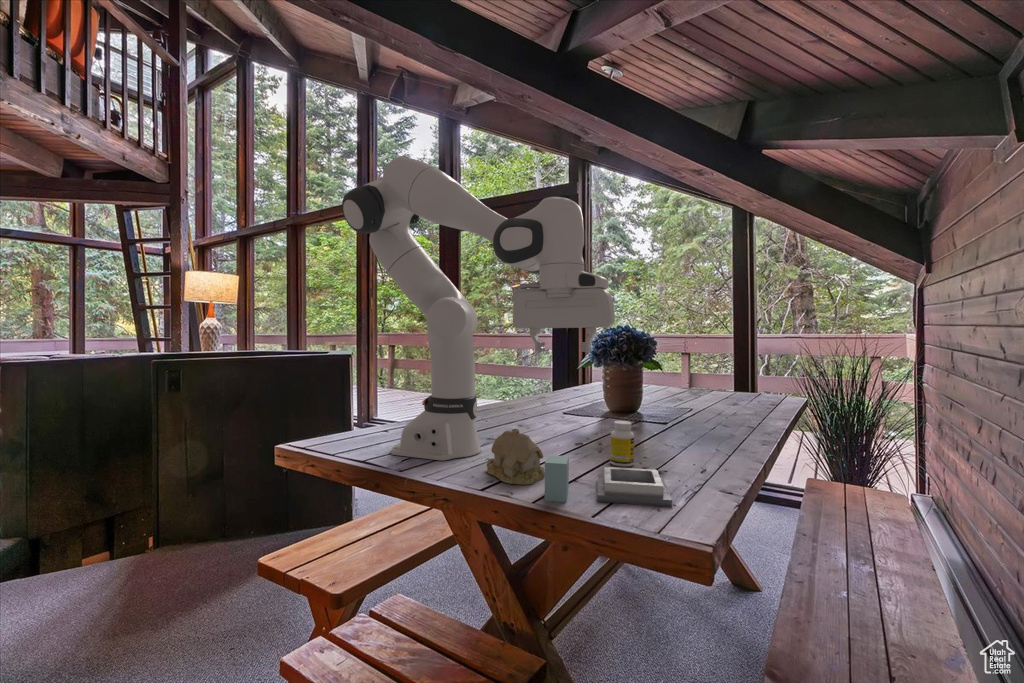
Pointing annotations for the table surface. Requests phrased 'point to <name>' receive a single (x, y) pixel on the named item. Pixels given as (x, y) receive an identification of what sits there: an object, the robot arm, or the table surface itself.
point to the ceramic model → (516, 459)
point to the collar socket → (632, 487)
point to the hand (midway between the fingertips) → (562, 351)
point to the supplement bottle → (622, 444)
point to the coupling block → (556, 478)
